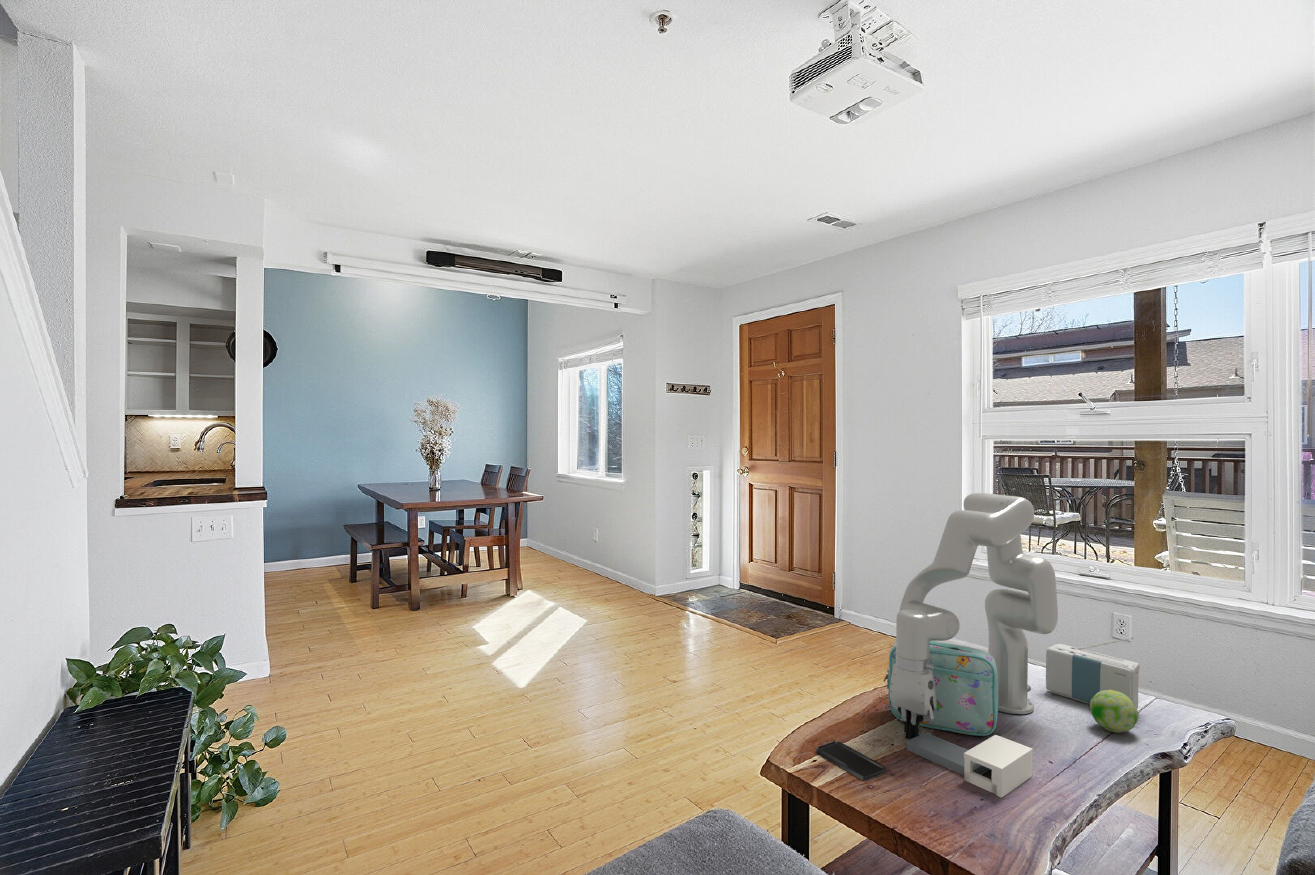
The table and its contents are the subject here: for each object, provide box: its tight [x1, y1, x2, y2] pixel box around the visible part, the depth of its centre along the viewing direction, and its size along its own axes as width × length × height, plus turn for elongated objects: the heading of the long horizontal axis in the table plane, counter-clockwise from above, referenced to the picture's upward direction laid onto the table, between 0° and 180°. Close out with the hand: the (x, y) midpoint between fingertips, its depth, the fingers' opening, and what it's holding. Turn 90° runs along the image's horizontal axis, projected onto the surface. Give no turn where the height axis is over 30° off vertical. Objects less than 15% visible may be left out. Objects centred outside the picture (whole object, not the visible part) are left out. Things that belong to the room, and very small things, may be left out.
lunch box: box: [883, 641, 999, 737], centre depth 165 cm, size 27×10×21 cm, turn 62°
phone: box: [815, 740, 888, 782], centre depth 146 cm, size 8×1×15 cm
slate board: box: [905, 731, 991, 776], centre depth 148 cm, size 8×16×2 cm, turn 36°
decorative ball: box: [1089, 690, 1139, 734], centre depth 162 cm, size 10×10×10 cm
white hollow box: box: [963, 734, 1034, 799], centre depth 140 cm, size 14×8×6 cm, turn 127°
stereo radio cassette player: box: [1045, 636, 1141, 709], centre depth 179 cm, size 21×8×20 cm, turn 36°
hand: (911, 737), depth 156 cm, fingers closed
